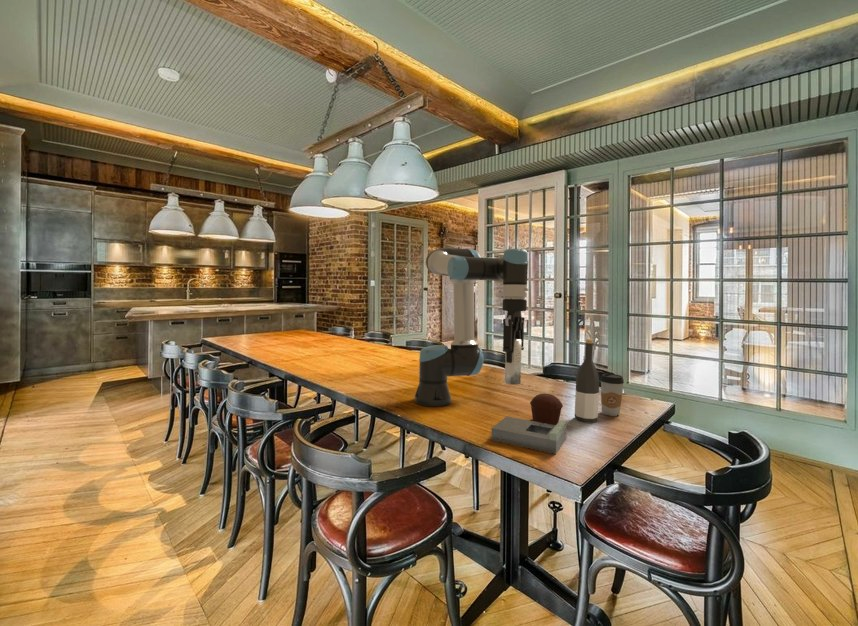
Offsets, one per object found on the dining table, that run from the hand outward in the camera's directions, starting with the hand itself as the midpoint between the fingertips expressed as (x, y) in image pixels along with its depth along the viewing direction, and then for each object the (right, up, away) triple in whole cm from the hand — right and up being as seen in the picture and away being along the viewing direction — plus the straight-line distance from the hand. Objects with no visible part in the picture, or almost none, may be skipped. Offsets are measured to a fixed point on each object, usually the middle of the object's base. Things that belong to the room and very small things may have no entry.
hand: (513, 371), depth 131 cm
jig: (+5, -22, -1) cm, 22 cm away
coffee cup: (+44, -21, +29) cm, 57 cm away
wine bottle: (+31, -21, +21) cm, 43 cm away
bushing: (0, -4, 0) cm, 4 cm away
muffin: (+15, -21, +18) cm, 32 cm away
